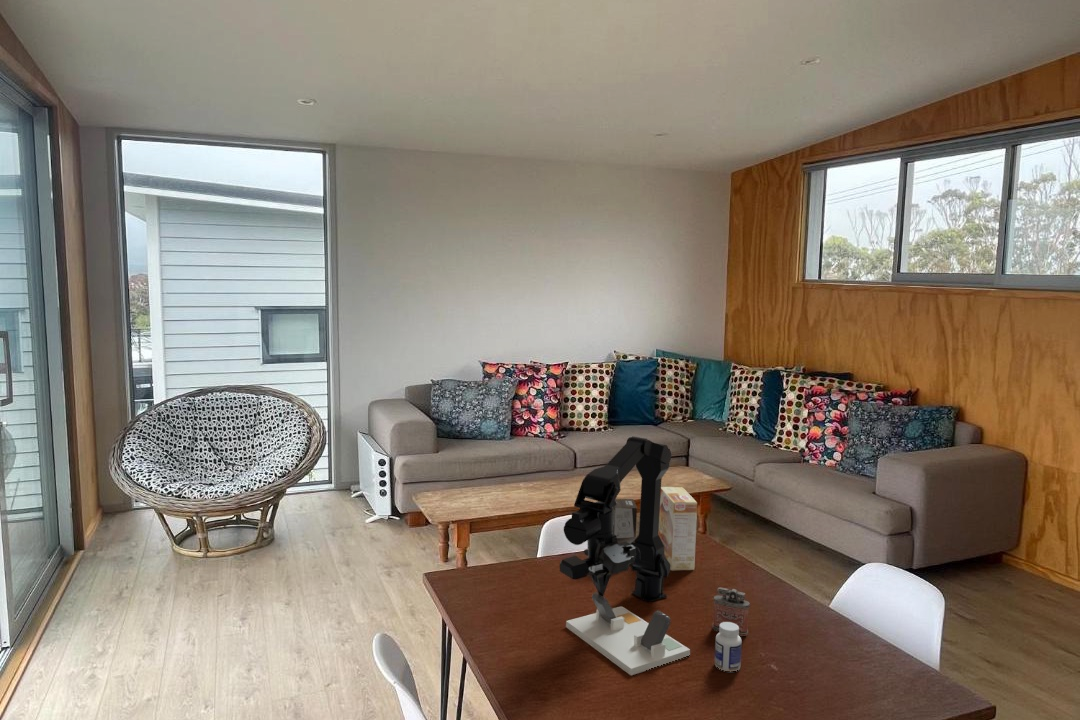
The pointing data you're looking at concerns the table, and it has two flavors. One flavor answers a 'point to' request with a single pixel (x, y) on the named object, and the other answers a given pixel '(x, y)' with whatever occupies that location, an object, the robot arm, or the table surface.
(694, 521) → the coffeecake box
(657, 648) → the breaker panel
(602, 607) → the breaker lever
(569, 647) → the table surface
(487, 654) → the table surface
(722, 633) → the pill bottle
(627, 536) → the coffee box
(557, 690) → the table surface
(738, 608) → the lighter
